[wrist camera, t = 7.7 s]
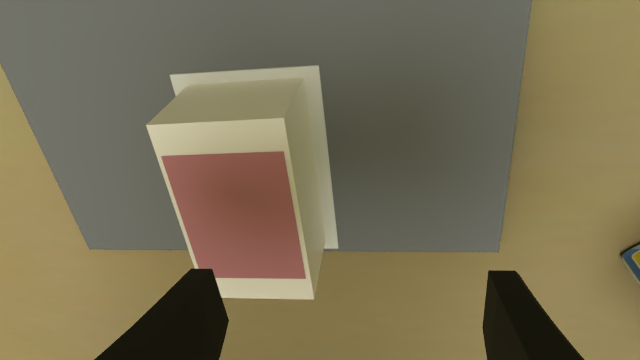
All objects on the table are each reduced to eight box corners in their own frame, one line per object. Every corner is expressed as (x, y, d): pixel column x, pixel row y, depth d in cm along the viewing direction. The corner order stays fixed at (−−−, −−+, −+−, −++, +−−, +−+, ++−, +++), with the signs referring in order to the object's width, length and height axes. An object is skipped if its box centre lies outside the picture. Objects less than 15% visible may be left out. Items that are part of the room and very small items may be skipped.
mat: (496, 244, 23) (499, 253, 22) (94, 242, 26) (88, 250, 26) (557, -238, 13) (564, -244, 13) (-81, -136, 17) (-98, -137, 16)
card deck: (303, 77, 19) (283, 118, 15) (325, 240, 23) (314, 300, 20) (188, 84, 19) (145, 125, 16) (231, 240, 24) (204, 298, 20)
